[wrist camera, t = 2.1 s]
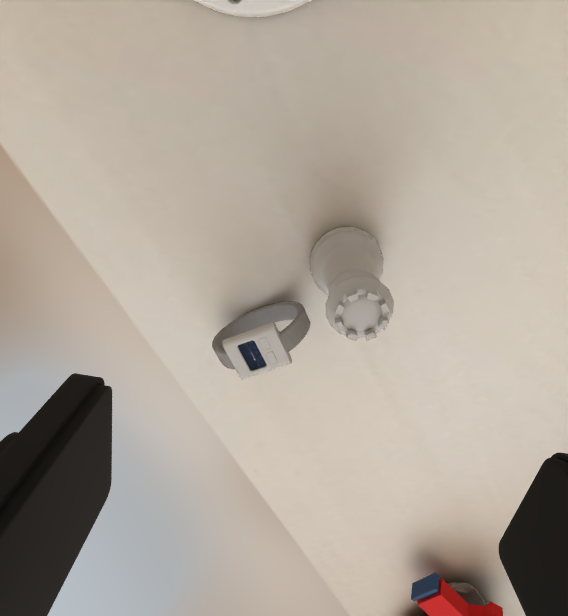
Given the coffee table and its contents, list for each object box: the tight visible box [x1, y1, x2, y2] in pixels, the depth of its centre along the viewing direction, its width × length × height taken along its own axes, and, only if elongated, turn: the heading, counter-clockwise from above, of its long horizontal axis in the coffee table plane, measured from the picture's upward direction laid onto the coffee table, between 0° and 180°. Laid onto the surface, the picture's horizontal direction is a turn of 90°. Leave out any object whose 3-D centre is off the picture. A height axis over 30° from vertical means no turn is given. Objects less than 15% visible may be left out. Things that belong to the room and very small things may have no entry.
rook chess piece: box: [310, 227, 394, 341], centre depth 23 cm, size 4×4×8 cm
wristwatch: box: [212, 302, 310, 380], centre depth 26 cm, size 6×3×5 cm, turn 113°
